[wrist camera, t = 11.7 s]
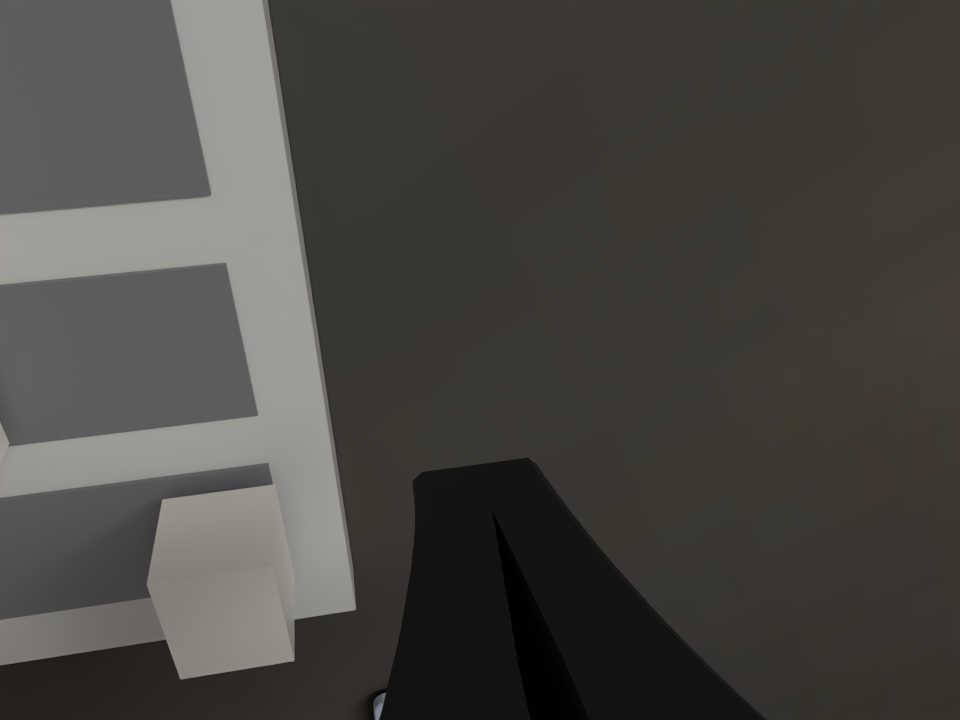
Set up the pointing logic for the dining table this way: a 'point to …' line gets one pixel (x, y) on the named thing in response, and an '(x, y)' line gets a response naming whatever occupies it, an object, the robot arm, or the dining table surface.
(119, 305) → the panel
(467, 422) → the dining table surface
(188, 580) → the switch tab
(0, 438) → the switch tab mid
